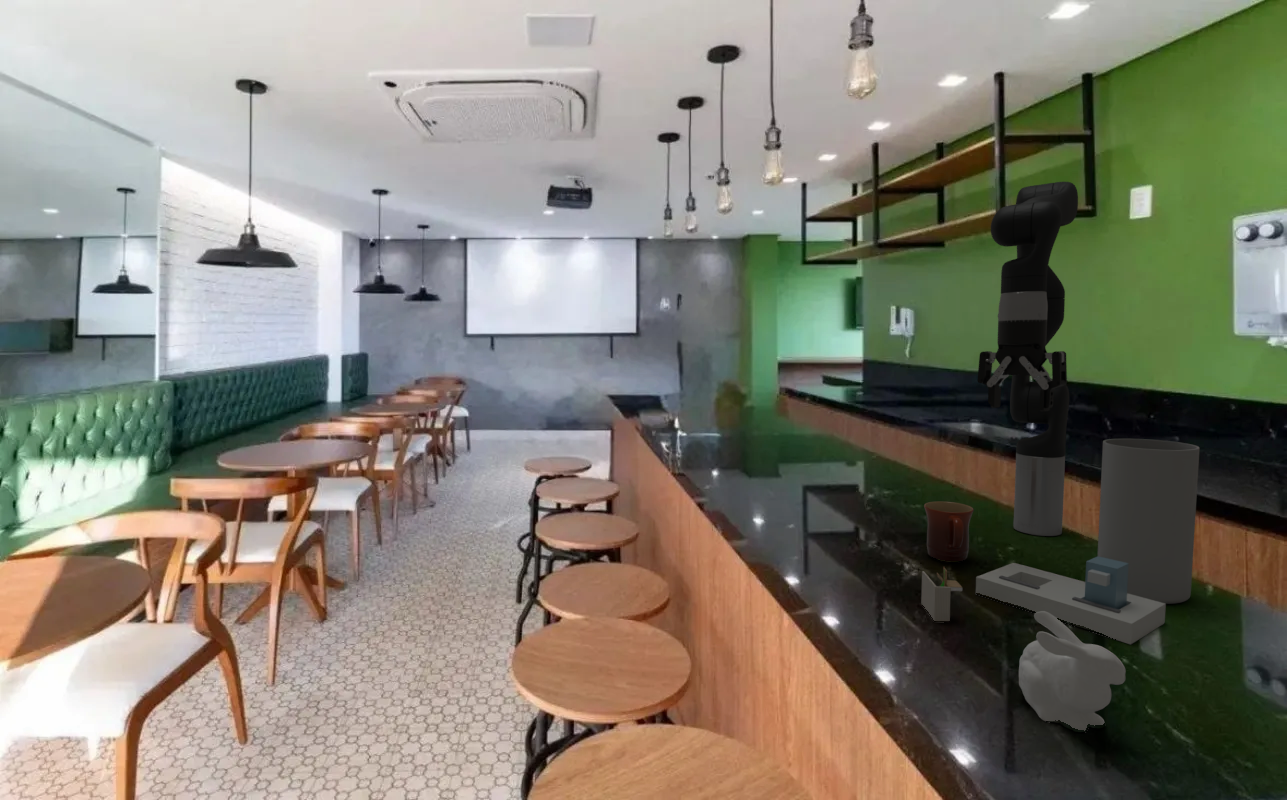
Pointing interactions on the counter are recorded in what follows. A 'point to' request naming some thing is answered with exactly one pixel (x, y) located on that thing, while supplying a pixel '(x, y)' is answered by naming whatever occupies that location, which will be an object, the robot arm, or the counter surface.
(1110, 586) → the plug
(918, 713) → the counter surface
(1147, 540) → the cylinder vase
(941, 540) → the mug
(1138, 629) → the port panel
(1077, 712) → the rabbit
